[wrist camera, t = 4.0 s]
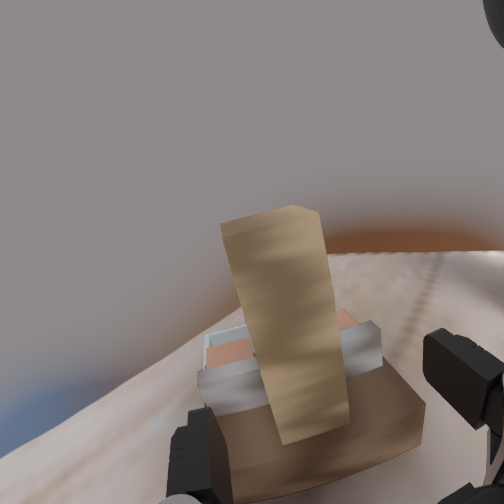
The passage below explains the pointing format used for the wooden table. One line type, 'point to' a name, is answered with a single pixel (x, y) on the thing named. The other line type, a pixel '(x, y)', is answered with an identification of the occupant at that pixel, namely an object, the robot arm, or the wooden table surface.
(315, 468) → the board
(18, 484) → the wooden table surface
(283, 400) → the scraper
